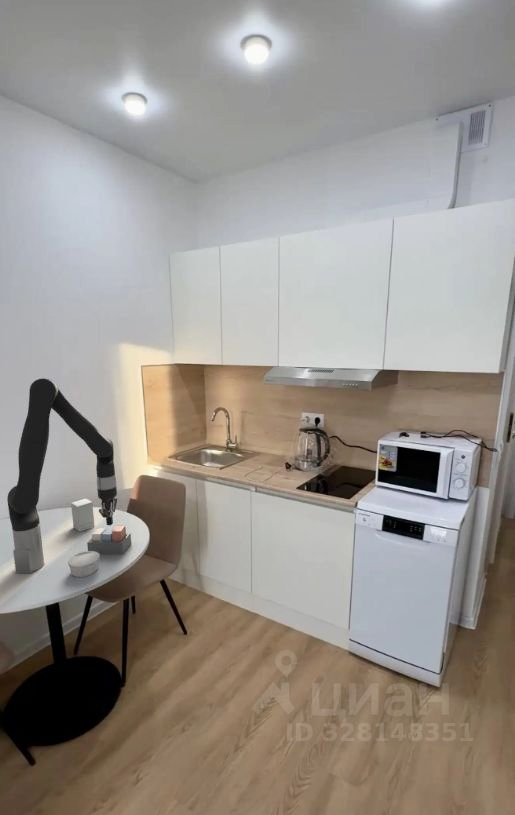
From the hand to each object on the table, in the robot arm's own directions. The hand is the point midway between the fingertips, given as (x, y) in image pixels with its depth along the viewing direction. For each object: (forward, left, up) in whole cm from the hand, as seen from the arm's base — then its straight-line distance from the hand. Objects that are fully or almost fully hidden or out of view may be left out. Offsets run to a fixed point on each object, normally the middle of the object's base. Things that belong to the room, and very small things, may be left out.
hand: (109, 524), depth 165 cm
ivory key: (0, +5, -8) cm, 10 cm away
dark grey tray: (0, +1, -11) cm, 11 cm away
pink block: (0, -4, -7) cm, 8 cm away
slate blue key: (0, +1, -8) cm, 8 cm away
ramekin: (-16, +3, -11) cm, 20 cm away
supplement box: (+19, +22, -11) cm, 31 cm away
